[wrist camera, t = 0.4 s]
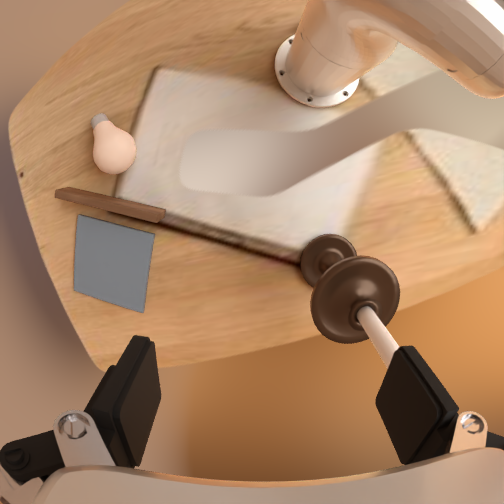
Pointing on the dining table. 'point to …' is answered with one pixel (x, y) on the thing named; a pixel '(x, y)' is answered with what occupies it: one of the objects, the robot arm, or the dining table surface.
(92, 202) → the low wall
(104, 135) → the light bulb
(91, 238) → the mat
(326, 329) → the candlestick
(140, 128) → the dining table surface
